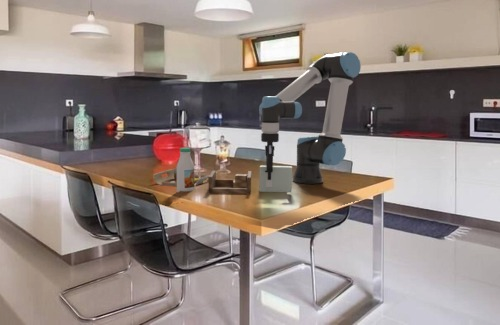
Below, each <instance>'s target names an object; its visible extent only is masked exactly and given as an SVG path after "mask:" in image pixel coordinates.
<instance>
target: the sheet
mask: <svg viewBox="0 0 500 325" xmlns="http://www.w3.org/2000/svg"><path fill="white" fill-rule="evenodd" d="M266 170H267V166H266V165H259V184H258V185H259V186H258V187H259V188H258V191H259V192H264V193H268V192H269V193H274V192H275V193H292V188H293V166H290V165H273V174H272V187H266V172H265V171H266Z"/></svg>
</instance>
